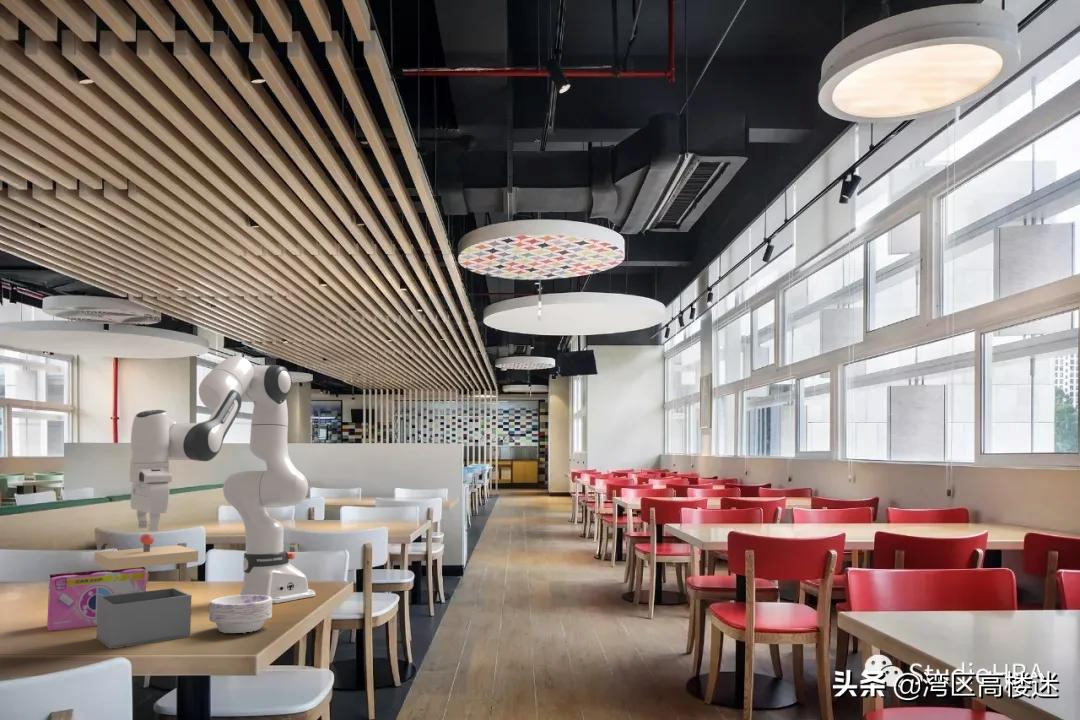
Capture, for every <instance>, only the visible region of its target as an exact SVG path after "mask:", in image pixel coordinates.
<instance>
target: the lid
mask: <svg viewBox="0 0 1080 720" xmlns="http://www.w3.org/2000/svg"><path fill="white" fill-rule="evenodd" d="M139 540H140V543H141V544H143V547H141V548H139V547H138V548H131V549H119V550H118V549H117V550H108V551H95V552H94V555H93V556H94V557H93V558H94V559H93V564H96V565H98V566H100V567H101V568H104V569H105V570H107V569H108V570H119V569H129V568H139V567H145V568H146V567H157V566H167V565H168V566H169V565H176V564H178V565H179V564H185V563H186V564H187V563H197V562H199V550H196V549H194V548H190V547H186V546H183V545H179V544H175V545H163V546H155V547H154V546H152V547H151V545H152V544H153V543H154V541H155V538H154V536H153V535H151V534H148V533H144V534H142V535H141V536H140V539H139Z"/></svg>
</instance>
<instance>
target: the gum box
mask: <svg viewBox="0 0 1080 720" xmlns="http://www.w3.org/2000/svg"><path fill="white" fill-rule="evenodd" d="M148 571H149V570H148V569H146V567H139V568H129V569H119V570H108V569H100V570H87V571H86V570H85V571H75V572H73V571H72V572H64V573H51V574H49V577H48V596H47V597H48V599H47V600H48V601H47V621H46V628H48V629H47V631H48V632H53V630H54V631H61V630H73V629H78V628H89V627H94V626H95V627H97V626H96V625H97V613H98V597H102V596H110V595H118V594H127V593H135V592H143V591H147V585H148V581H149V577H150V575H149V573H148Z"/></svg>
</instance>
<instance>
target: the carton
mask: <svg viewBox="0 0 1080 720" xmlns="http://www.w3.org/2000/svg"><path fill="white" fill-rule="evenodd" d="M191 621H192V594H189V593H187V592H185V591H183V590H180V589H178V588H176V587H172V588H171V587H170V588H163V589H155V590H154V589H153V590H146V591H143V592H135V593H127V594H118V595H110V596H102V597H98V613H97V626H96V639H97V640H98V641H99V642H101V643H102V644H103V645H104V644H105V647H107V648H108V647H109V648H108V649H110V650H112V649H111V648H114V649H119V647H120V648H124V646H126V647H132V646H137V645H145V644H151V643H156V642H164V641H169V640H175V639H183V638H190V637H191V627H192V626H191Z"/></svg>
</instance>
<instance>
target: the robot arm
mask: <svg viewBox="0 0 1080 720" xmlns="http://www.w3.org/2000/svg"><path fill="white" fill-rule="evenodd" d="M292 379H293V378H292V375H291V373H290V372H289V370H288V369H287V368H286V367H285V366H283V365H278V364H272V365H266V364H264V365H263V364H261V365H258V364H257V365H253V364H252V363H251V362H250V361H249V360H248V358H245V357H243V356H240V355H232V356H229V357H227V358H226V359H224V360H223V361H221V362H220V363H218V364H216V366H215V367H213V368H212V369H211V371H209V372H208V373H207V375H206V376H205V377H204V378H203V379H202V380H201V382H200V384H199V386H198V395H199V399H200V401H201V402H202V404H203V405H204V406H205V407H206V408H208V409H209V410H210V411H212V414H210V417H209V418H208V419H207V420H204V421H201V422H189V423H187V422H184V423H181V422H180V423H179V422H177V421H175V420H173V419H172V418H171V417H169V415H168V411H166V410H162V409H152V410H144V411H141V412H138V413H137V414H135V416H134V418H133V421H132V426H131V433H130V447H131V451H132V452H131V458H130V463H129V482H131V483H132V485H131V492H130V494H131V495H130V508H131V509H132V510H135V511H136V518H137V528H139V529H147V527H148V531H149V532H151V533H152V532H153V533H154V532H157V531H158V530H159V529H158V528H159V522H160V519H161V514H166V513H167V510H168V507H169V500H170V492H171V491H170V490H171V489H170V483H172V482H173V474H172V472H171V471H170V468H169V466H170V463H169V462H170V461H169V460H172V461H199V462H208V461H211V460H213V459H214V458H216V456H217V455H218V453H219V452H220V451H221V448H222V445H223V444H224V440H225V438H226V435H227V434H228V433H229V430H230V428H231V426H232V425H233V423H234V422H235V420H236V418H237V416H238V415H239V412H240V411H241V407H242V404H243V403H244V402H245V403H252V404H253V409H252V415H251V424H250V437H249V439H250V440H249V450H250V452H251V454H253V456H255V457H256V458H258V459H259V460H262V461H264V462H265V464H266V470H244V471H238V472H234V473H231V474H229V476H227V478H226V479H225V481H224V483H223V487H222V488H223V489H222V490H223V498H224V499H225V500H226V502H227V503H228V504H229V505H231V506H232V507H233V508H234V509H235V510H236V512H237V513H238V514H239V516H240V517H241V520H242V522H243V525H244V532H245V535H244V536H245V552H244V554H243V560H242V561H243V566H242V567H243V568H242V569H243V572H244V573H243V582H242V586H241V592H240V594H239V595H265V596H270V597H272V599H273V600H272V604H279V603H285V602H291V601H296V600H302V599H305V598H307V599H308V598H311V597H316V591H315V590H314V589H310V588H309V584H308V579H307V576H306V574H304V572H303V571H301V570H299V569H298V568H296V567H295V566H294V565H293V564H291V563H290V560H294V559H295V558H296V555H295V554H294V553H295V552H286V551H285V550H284V535H285V533H284V532H285V531H284V530H285V528H284V526H283V524H282V523H281V522H280V521H279V520H278V519H275V518H273V517H271V516H270V515H269V512H268V510H267V507H289V506H294V505H298V504H301V503H302V502H303V501H304V500H305V499H306V497H307V495H308V492H309V483H308V480H307V477H306V476H305V475H304V474H303V473H302V472H300V471H299V469H297V468H296V466H295V465H294V463H293V462H292V460H291V458H290V454H289V447H288V432H289V430H288V429H289V413H288V412H289V409H288V403H287V397H288V395H289V394H290V392H291V389H292V383H293V381H292ZM147 514H149V523H148V520H147Z"/></svg>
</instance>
